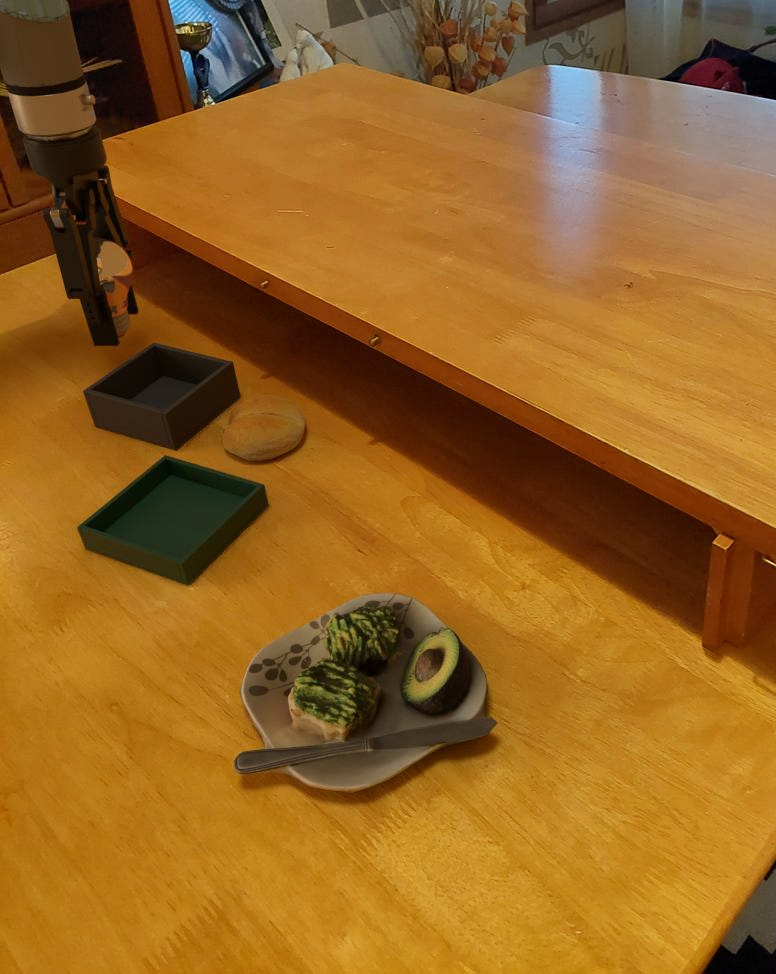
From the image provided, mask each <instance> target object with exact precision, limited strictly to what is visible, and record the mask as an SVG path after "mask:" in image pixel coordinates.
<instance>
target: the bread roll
mask: <svg viewBox="0 0 776 974" xmlns="http://www.w3.org/2000/svg"><path fill="white" fill-rule="evenodd" d="M305 428H306V419H305V416H304V414H303V411H302V409H301V408H300V407H299V406H298V405H297V404H296V403H295V402H293V401H292V400H290V399H288V398H286V397H284V396H282V395H278V394H267V393H266V394H265V393H264V394H258V395H254V396H251V397H249V398H247V399H245V400H243V401H242V402H241V403H239V404H238V405H237V406H236V407H234V409H233V410H232V411H231V413H230V415H229V419H228V426H226V427H225V429H224V430H223V433H222V436H221V441H222V445H223V448H224V449H225V450H226V451H227V452H229V453H231V454H233V455H235V456H237V457H239V458H241V459H243V460H246V461H249V462H250V461H251V462H252V461H253V462H261V461H267V460H273V459H275V458H277V457H281V456H282V455H285V454H287V453H288V452H290V451H292V450H295V448H297V446H298V445H299V444H300V442H301V441H302V440H303V438H304V435H305Z"/></svg>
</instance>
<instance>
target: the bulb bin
mask: <svg viewBox="0 0 776 974" xmlns="http://www.w3.org/2000/svg"><path fill="white" fill-rule="evenodd" d="M82 393H83V397H84V399H85V402H86V404H87V408H88V409H89V411H88V412H89V413H90V416H91V419H92V423H93V425H94V427H95V428H99V429H101V430H105V431H109V432H112V433H115V434H119V435H122V436H125V437H129V438H133V439H136V440H140V441H143V442H145V443H149V444H153V445H155V446H159V447H163V448H167V449H170V450H174V451H177V450H178V449H179V448H181V447H182V446H183V445H184V444H186V443H187V442H188V441H189V440H190V439H192V438H193V437H194V436H195V435H197V434H198V433H199V432H201V430H202V429H204V428H205V427H206V426H207V425H209V424H210V423H211V422H212V421H213V420H215V419H216V418H217V417H218V416H219V415H221V414H222V413H223V412H225V410H227V409H228V408H230V407H231V406H232V405H233V404H234V403H235V402H237V401H238V400H239V399H240V398H241V391H240V386H239V382H238V378H237V374H236V369H235V365H234V361H231V360H227V359H224V358H220V357H219V358H218V357H215V356H211V355H207V354H203V353H198V352H194V351H191V350H186V349H182V348H178V347H174V346H170V345H166V344H161V343H157V342H153V343H151V344H149V345H147V346H146V347H145V348H143V349H142V350H140V351H139V352H137V353H136V354H135V355H133V356H131V357H130V358H129V359H127V360H126V361H124V362H123V363H122V364H120V365H118V366H117V367H116V368H114V369H112V370H111V371H109V372H108V373H107V374H105V375H104V376H102V377H101V378H100V379H98V380H97V381H95V382H94V383H92V384H90V385H89V386H88V387H86V388H84V390H82Z"/></svg>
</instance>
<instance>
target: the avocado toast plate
mask: <svg viewBox="0 0 776 974" xmlns="http://www.w3.org/2000/svg"><path fill="white" fill-rule="evenodd" d="M440 619H441V618H439V617H438V616H437V615H436V613H434V612H433V611H432V609H430V608H429V607H427V606H426V605H425V604H424V603H423V602H422V601H420V600H418V599H417V598H415V597H412V596H409V595H406V594H401V593H397V592H396V593H393V592H392V593H391V592H374V593H367V594H363V595H361V596H358V597H355V598H352V599H350V600H348V601H346V602H344V603H342V604H340V605H338V606H336V607H334V608H333V609H330V610H329V611H327V612H325V613H323V614H321V615H320V616H318V617H316V618H315V619H312V620H310V621H308V622H307V623H305V624H304V625H301V626H299V627H297V628H295V629H291V630H290V631H289V632H287V633H286V634H284V635H282V636H279V637H278V638H276V639H274V640H273V641H271V642H269V643H268V644H266V645H264V646H263V647H262V648H261V649H259V650H258V651H257V652H256V654H255V655H254V656H253V658H252V659H251V660H250V662H249V663H248V665H247V668H246V671H245V674H244V676H243V679H242V682H241V684H240V687H239V691H238V692H239V696H240V699H241V703H242V705H243V706H244V708H245V710H246V711H247V712H248V716H249V718H250V720H251V722H252V724H253V726H254V727H255V729H256V730H257V731H258V733H259V734H260V735H261V738H262V741H263V745H264V748H260V749H252V750H244V751H241V752H240V753H239V754H237V755H236V756H235V758H234V759H233V768H234V772H236V774H239V775H241V776H248V775H261V774H269V773H281V774H284V775H289V776H290V777H292V778H293V779H296V780H297V781H299V782H300V783H302V784H303V785H305V786H307V787H310V788H314V789H319V790H320V789H321V790H324V791H336V792H343V793H349V794H350V793H356V792H359V791H362V790H366V789H369V788H372V787H374V786H376V785H379V784H382V783H384V782H386V781H388V780H390V779H392V778H393V777H395V776H398V775H399V774H401V773H402V772H404V771H405V770H407V769H408V768H410V767H411V766H413V765H414V764H416V763H417V762H419V761H421V760H422V759H424V758H426V757H427V756H429V755H430V754H432V753H433V752H436V751H437V750H440V749H441V748H445V747H447V746H450V745H451V746H452V745H456V744H460V743H461V744H462V743H465V742H470V741H471V740H475V739H478V738H479V739H480V738H482V737H484V736H487V735H490V733H491V732H492V731H493V729H494V728H495V727H496V726H497V725H498V724H499V722H498V721H497V720H495V719H494V718H493V717H492V716H488V717H487V716H485V714H486V712H485V709H486V705H487V697H488V695H489V694H488V693H489V689H488V688H489V685H488V680H487V674H486V672H485V670H484V668H483V666H482V664H481V662H480V661H479V659H478V658H477V656H476V655H475V654H474V653H473V652H472V651H471V650H470V648H468V647H467V646H466V644H465V643H464V642H463V641H462V640H461V638H460V637H459V636H458V634H457V633H456V632H455V631H454V630H453V629H452V628H449V627H448V626H447V625H446V624H445V622H443V621H442V620H440Z"/></svg>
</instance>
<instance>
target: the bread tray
mask: <svg viewBox="0 0 776 974" xmlns="http://www.w3.org/2000/svg"><path fill="white" fill-rule="evenodd" d="M269 506H270V505H269V500H268V495H267V489H266V486H265V484H264V483H260V482H257V481H254V480H251V479H247V478H244V477H240V476H237V475H234V474H231V473H227V472H224V471H221V470H217V469H213V468H210V467H207V466H204V465H200V464H197V463H193V462H191V461H187V460H183V459H180V458H177V457H174V456H170V455H167V454H164V455H163V456H162V457H161V458H160V459H158V460H157V461H156V462H155V463H154V464H152V465H151V466H150V467H149V468H147V469H146V470H145V471H144V472H143V473H141V474H140V475H139V476H138V477H136V478H135V479H134V480H132V481H131V482H130V483H129V484H127V486H125V487H124V488H123V489H121V491H119V492H118V493H117V494H115V495H114V496H113V497H112V498H111V499H110V500H107V502H105V504H103V505H102V506H100V508H99V509H97V510H96V511H95V512H93V514H91V515H90V516H89V517H87V518H86V519H85V520H84V521H83V522H81V523H80V524H79V525H78V526H77V527H76V529H77V532H78V534H79V537H80V540H81V541H82V542H81V543H82V544H83V547H84V549H85V550H88V551H91V552H93V553H97V554H99V555H103V556H105V557H108V558H111V559H114V560H117V561H118V562H122V563H124V564H127V565H131V566H133V567H136V568H138V569H142V570H144V571H147V572H150V573H153V574H155V575H158V576H161V577H164V578H167V579H170V580H172V581H175V582H177V583H181V584H183V585H186V586H190V584H191V583H193V582H194V581H195V580H196V579H197V577H198V576H199V575H201V574H202V573H203V572H204V571H205V570H206V569H207V568H208V567H209V566H210V565H211V564H212V563H213V561H215V560H216V559H217V558H218V557H219V556H220V555H221V554H222V553H223V552H224V551H225V550H226V549H227V548H228V547H229V546H230V545H231V544H232V543H233V542H234V541H235V540H236V539H237V538H238V537H239V536H240V535H241V534H242V533H243V532H244V531H245V530H246V529H247V528H248V527H249V526H250V525H251V524H252V523H253V522H254V521H255V520H256V519H257V518H258V517H259V516H260V515H261V514H262V513H263V512H264V511H265V510H266V509H267V508H268V507H269Z"/></svg>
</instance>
